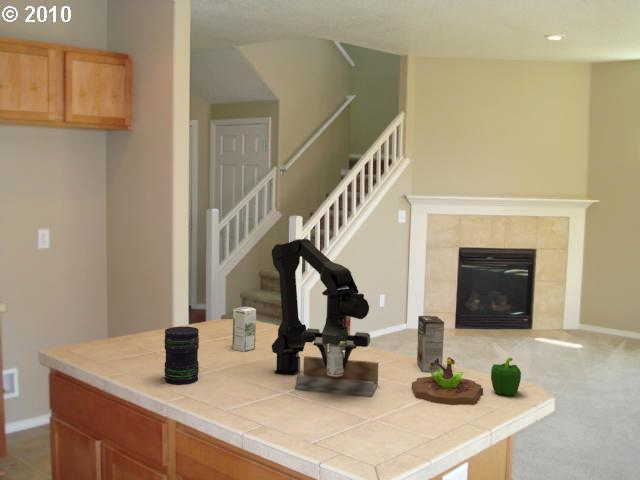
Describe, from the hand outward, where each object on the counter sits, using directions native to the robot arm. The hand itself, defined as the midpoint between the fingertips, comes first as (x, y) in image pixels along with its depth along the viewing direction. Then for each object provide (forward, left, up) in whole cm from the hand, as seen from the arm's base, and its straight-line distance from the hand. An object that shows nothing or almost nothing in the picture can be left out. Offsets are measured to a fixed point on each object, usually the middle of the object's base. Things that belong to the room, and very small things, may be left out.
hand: (335, 367), depth 194 cm
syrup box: (-40, +36, -7) cm, 54 cm away
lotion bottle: (-8, +49, -7) cm, 50 cm away
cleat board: (0, +1, -7) cm, 7 cm away
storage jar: (-45, -4, -7) cm, 46 cm away
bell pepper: (+47, +12, -7) cm, 49 cm away
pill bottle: (0, 0, -2) cm, 2 cm away
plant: (+31, +7, -7) cm, 33 cm away
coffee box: (+24, +32, -7) cm, 41 cm away
